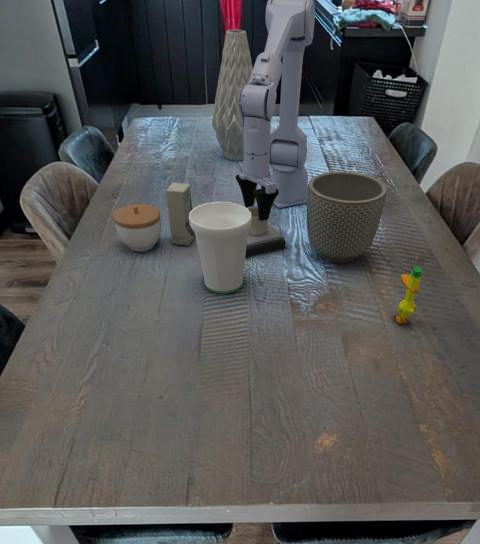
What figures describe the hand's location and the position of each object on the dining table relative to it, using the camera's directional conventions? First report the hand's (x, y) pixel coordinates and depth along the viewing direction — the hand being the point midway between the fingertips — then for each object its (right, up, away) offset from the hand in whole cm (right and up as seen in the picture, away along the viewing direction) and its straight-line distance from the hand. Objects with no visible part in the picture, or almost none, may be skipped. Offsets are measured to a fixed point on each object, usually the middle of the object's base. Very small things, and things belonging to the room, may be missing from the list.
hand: (256, 212), depth 112 cm
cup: (-7, -19, -8) cm, 22 cm away
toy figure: (+30, -29, -16) cm, 44 cm away
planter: (+20, -9, +2) cm, 22 cm away
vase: (-7, +38, +45) cm, 59 cm away
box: (-18, -5, +5) cm, 19 cm away
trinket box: (-28, -7, +3) cm, 29 cm away
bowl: (0, -3, +3) cm, 4 cm away
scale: (-1, -5, +5) cm, 7 cm away
